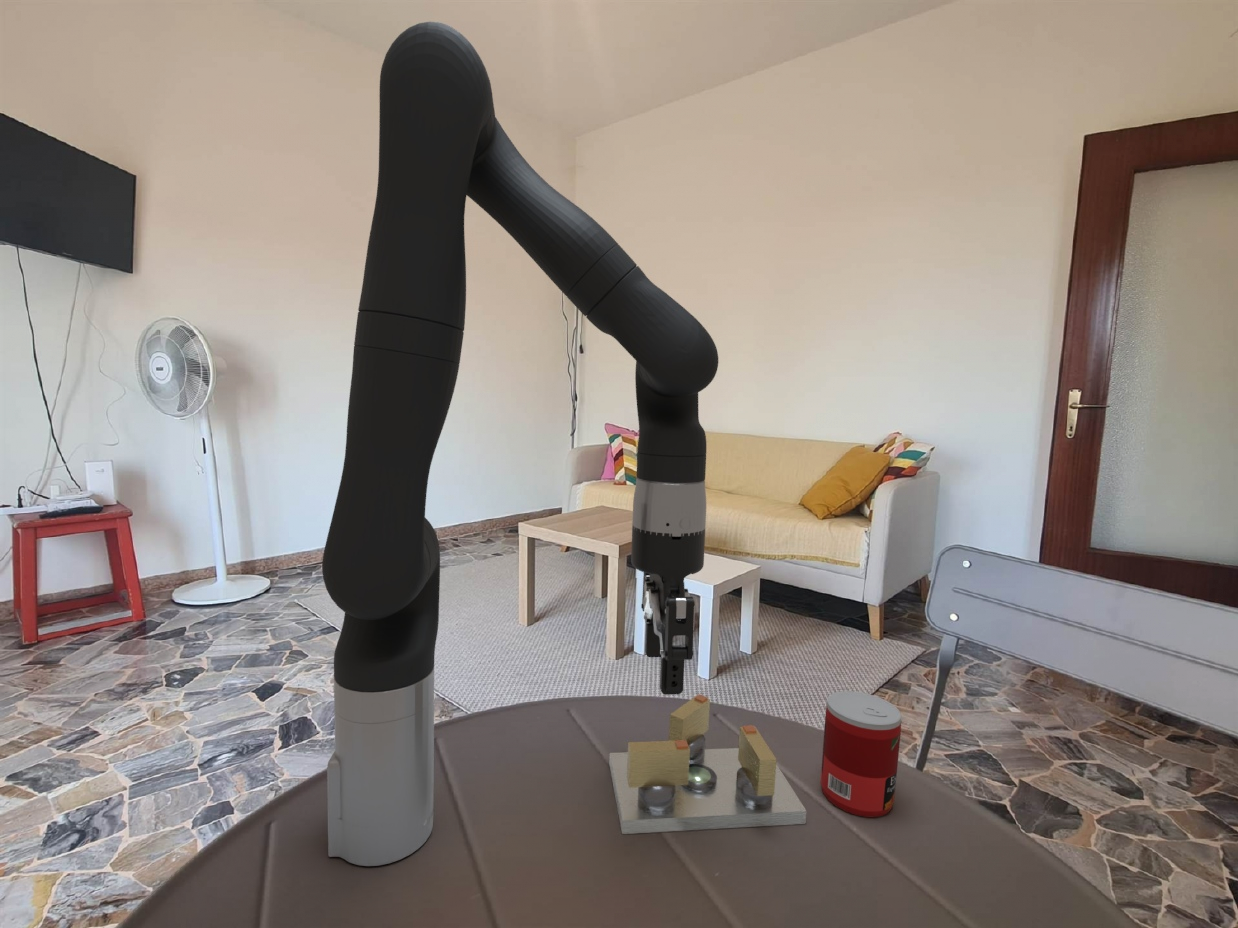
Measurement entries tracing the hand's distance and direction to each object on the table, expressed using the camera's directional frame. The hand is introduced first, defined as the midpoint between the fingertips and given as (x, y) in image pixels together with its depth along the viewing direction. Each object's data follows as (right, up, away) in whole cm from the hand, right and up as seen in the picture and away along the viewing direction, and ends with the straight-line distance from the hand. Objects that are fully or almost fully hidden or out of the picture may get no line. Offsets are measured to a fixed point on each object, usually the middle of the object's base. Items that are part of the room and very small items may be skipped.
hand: (662, 673), depth 63 cm
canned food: (+23, -17, +6) cm, 29 cm away
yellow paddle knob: (+4, -14, +10) cm, 18 cm away
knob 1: (-1, -15, +2) cm, 15 cm away
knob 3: (+10, -15, +3) cm, 18 cm away
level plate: (+5, -16, +6) cm, 18 cm away
